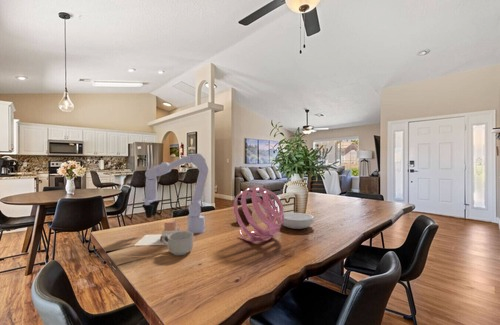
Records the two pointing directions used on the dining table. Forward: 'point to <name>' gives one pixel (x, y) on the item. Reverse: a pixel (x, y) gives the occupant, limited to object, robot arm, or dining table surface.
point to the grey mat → (150, 240)
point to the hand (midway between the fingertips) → (151, 216)
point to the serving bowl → (297, 220)
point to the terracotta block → (169, 225)
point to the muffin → (244, 215)
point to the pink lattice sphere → (260, 214)
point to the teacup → (179, 242)
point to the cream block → (170, 231)
